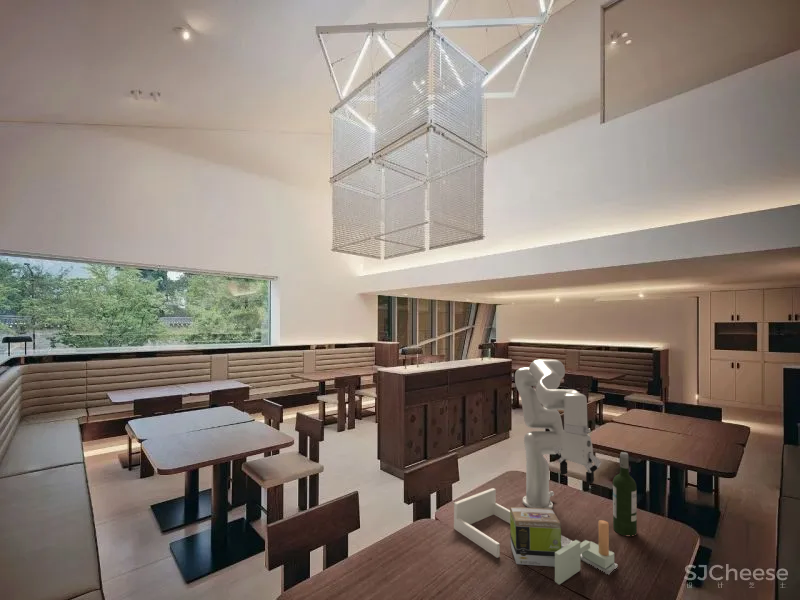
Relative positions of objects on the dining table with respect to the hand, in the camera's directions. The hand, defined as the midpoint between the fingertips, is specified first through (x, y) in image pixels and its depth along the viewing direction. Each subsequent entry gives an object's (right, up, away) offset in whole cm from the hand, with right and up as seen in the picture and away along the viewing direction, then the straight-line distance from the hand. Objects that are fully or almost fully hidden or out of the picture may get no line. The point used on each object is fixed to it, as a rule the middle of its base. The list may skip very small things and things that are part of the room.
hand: (576, 478), depth 134 cm
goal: (-25, -26, +12) cm, 38 cm away
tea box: (-15, -26, -2) cm, 31 cm away
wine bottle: (+25, -27, +14) cm, 40 cm away
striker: (-3, -26, -10) cm, 28 cm away
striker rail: (-4, -27, +7) cm, 28 cm away
